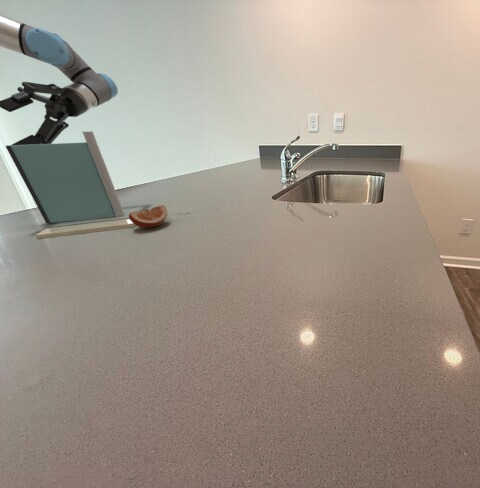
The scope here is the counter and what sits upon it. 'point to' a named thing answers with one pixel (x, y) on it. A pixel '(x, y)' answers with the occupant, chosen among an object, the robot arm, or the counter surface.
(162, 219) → the fruit slice
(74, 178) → the shower door
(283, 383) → the counter surface
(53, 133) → the robot arm
